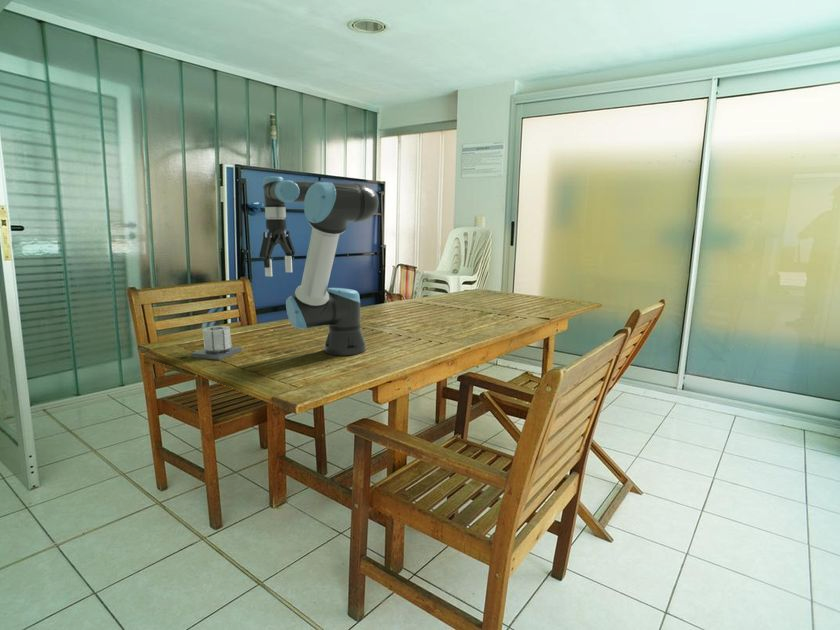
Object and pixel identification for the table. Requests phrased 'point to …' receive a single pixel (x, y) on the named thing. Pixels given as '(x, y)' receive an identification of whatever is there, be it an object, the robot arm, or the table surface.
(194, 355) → the shaft block
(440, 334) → the table surface
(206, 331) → the ring
